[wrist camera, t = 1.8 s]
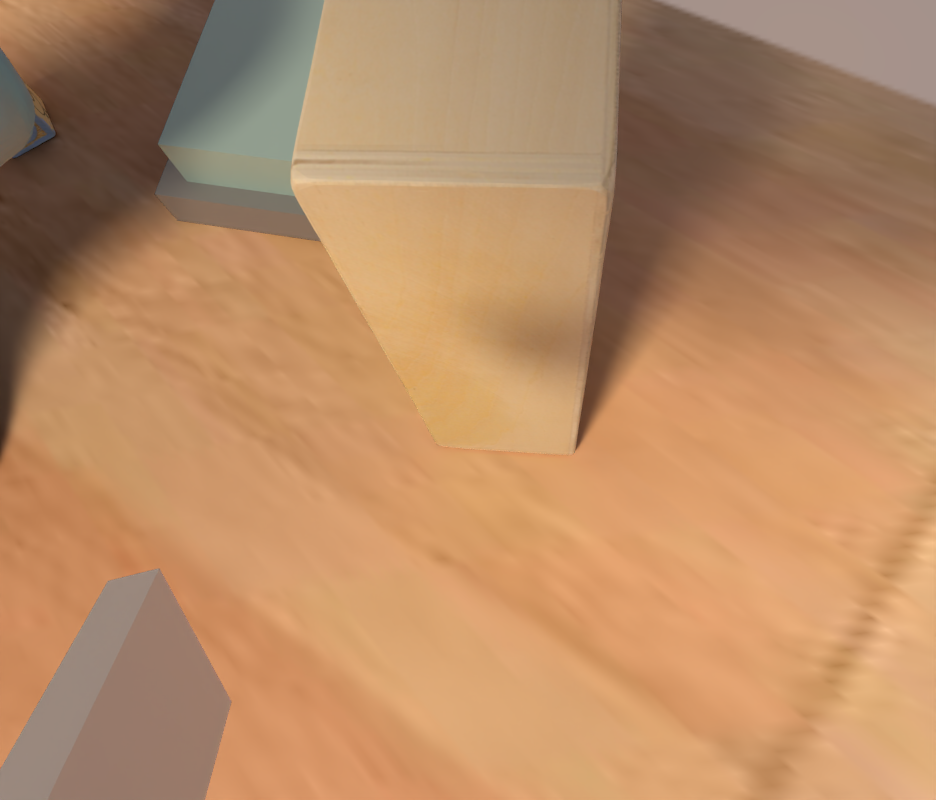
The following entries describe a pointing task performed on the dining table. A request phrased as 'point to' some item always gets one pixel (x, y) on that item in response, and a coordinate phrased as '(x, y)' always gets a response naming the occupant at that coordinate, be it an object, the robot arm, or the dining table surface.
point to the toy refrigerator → (469, 199)
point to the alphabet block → (38, 125)
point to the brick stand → (242, 119)
